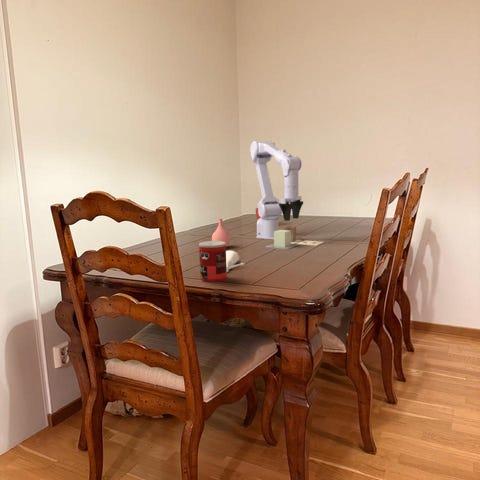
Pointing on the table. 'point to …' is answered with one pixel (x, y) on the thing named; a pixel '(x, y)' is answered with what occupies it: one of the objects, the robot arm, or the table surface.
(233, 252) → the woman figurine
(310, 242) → the tile
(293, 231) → the walnut block
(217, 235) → the perfume bottle
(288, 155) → the robot arm
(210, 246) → the canned food
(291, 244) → the light grey square plate
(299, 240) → the plain tile
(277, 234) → the sage block
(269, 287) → the table surface
